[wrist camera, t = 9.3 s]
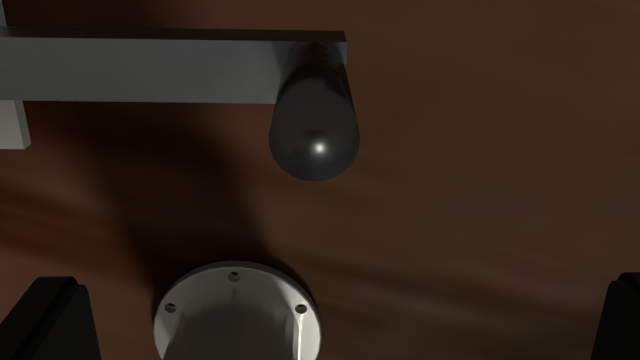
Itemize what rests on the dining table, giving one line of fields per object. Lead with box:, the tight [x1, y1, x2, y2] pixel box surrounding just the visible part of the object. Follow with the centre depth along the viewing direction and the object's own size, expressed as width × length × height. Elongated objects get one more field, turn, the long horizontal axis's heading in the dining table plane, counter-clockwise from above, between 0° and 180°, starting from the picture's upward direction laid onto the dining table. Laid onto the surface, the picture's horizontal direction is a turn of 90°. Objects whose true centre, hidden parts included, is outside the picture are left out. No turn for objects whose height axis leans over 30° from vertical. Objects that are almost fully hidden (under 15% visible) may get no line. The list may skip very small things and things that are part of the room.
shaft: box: [0, 26, 360, 181], centre depth 24 cm, size 3×22×12 cm, turn 89°
